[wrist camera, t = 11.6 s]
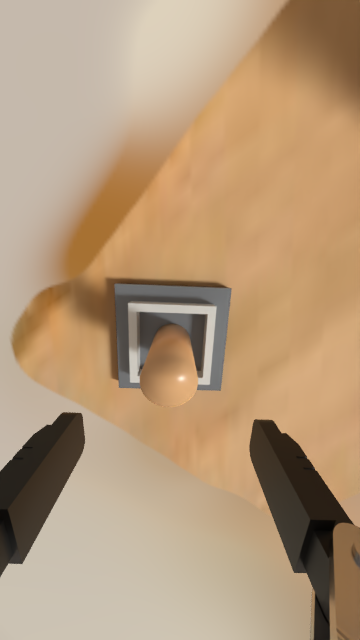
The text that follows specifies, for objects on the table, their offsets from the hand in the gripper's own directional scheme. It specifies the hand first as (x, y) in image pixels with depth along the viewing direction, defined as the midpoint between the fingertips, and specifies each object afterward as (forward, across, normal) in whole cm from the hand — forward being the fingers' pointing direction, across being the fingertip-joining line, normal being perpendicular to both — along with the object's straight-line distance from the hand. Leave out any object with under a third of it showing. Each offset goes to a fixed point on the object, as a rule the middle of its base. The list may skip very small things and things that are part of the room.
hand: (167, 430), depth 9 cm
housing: (+13, 0, 0) cm, 13 cm away
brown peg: (+12, 0, 0) cm, 12 cm away
